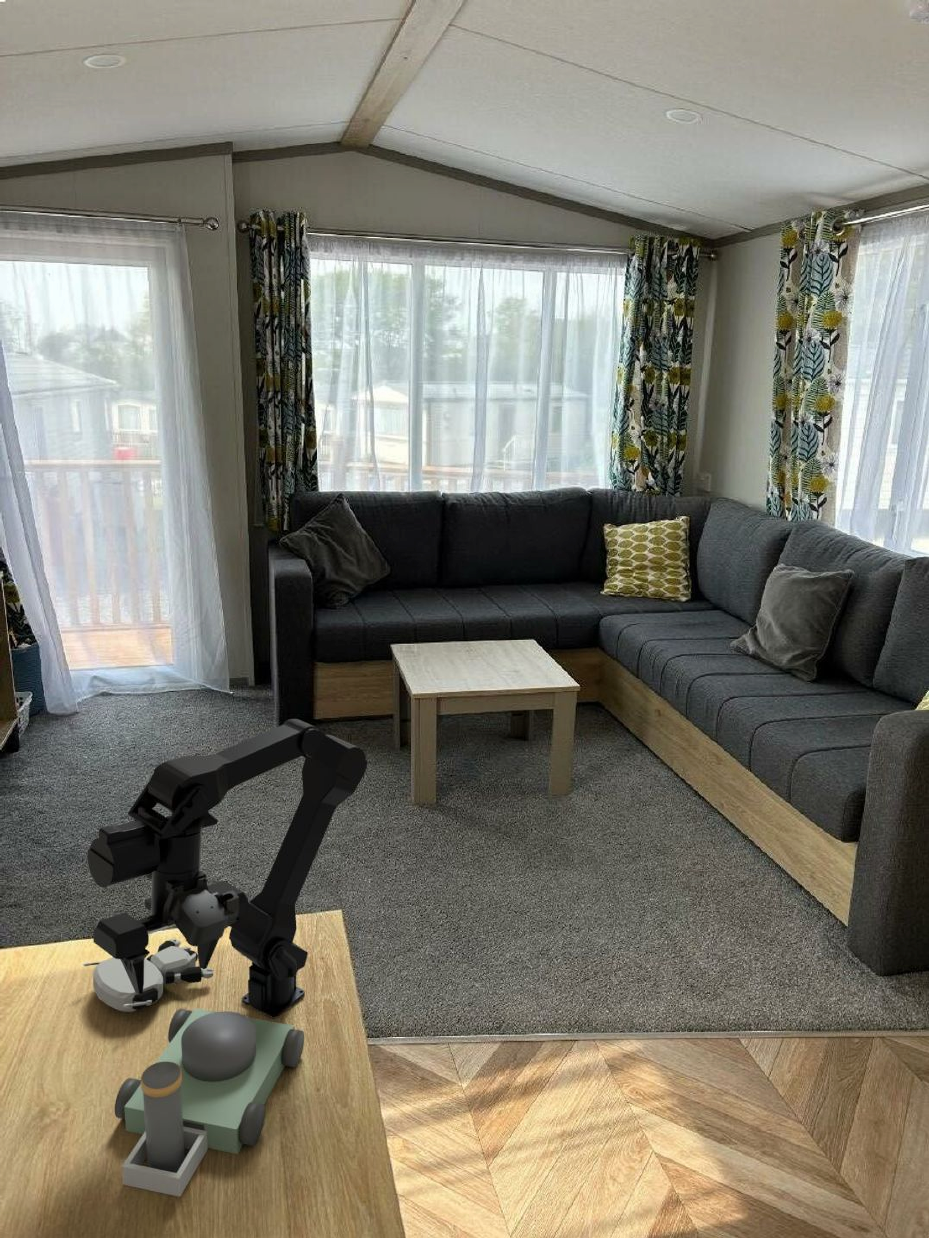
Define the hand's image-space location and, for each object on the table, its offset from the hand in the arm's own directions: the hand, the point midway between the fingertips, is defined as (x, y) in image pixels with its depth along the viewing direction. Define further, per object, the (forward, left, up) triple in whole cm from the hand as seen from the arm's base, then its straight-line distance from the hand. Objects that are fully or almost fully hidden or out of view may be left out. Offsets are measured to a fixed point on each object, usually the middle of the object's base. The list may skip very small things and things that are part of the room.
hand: (171, 980), depth 125 cm
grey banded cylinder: (+12, +12, -12) cm, 21 cm away
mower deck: (+4, +9, -12) cm, 15 cm away
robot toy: (-8, -14, -12) cm, 20 cm away
